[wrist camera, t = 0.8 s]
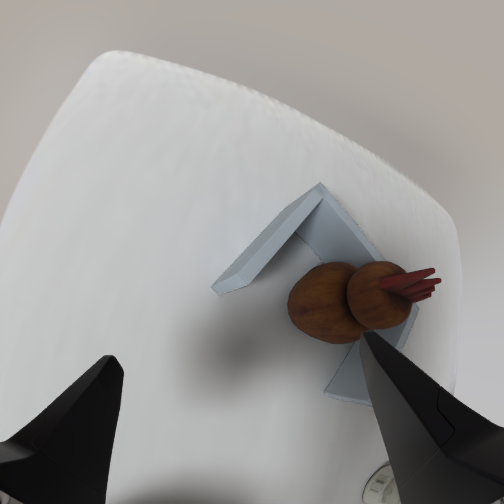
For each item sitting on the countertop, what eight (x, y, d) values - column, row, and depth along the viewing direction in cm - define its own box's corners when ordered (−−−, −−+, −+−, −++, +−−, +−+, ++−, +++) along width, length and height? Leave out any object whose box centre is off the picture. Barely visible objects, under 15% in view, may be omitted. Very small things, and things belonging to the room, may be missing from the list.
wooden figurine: (264, 311, 25) (409, 283, 12) (296, 262, 28) (429, 206, 14) (315, 353, 26) (460, 353, 13) (341, 305, 29) (474, 278, 16)
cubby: (329, 397, 26) (373, 406, 20) (210, 287, 24) (237, 273, 18) (377, 314, 31) (419, 308, 25) (285, 208, 29) (320, 181, 23)
